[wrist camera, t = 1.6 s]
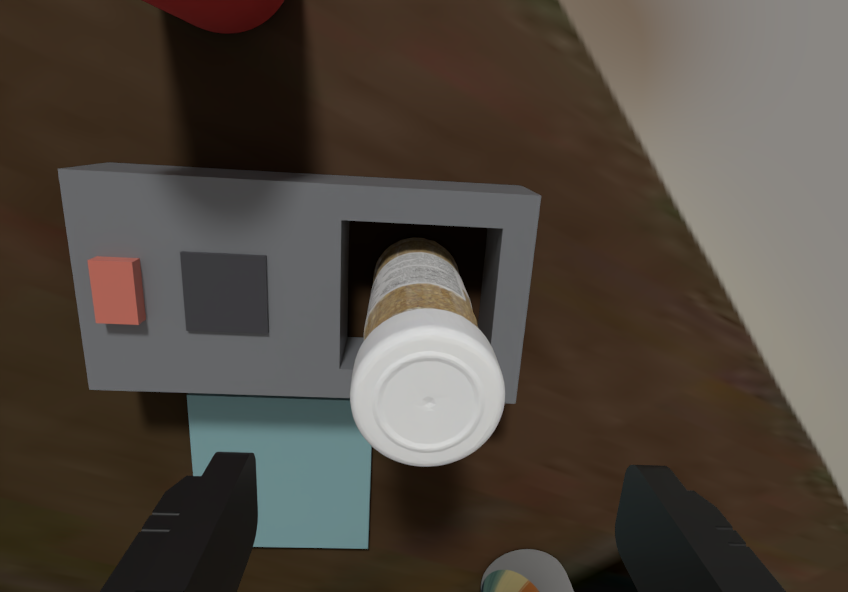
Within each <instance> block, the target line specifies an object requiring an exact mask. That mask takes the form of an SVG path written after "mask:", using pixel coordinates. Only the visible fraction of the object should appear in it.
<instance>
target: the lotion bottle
mask: <svg viewBox="0 0 848 592" xmlns="http://www.w3.org/2000/svg"><path fill="white" fill-rule="evenodd" d="M481 592H574V591H573V588H572V586H571V583H570V581H569V578H568V576H567V574H566V572H565V570H564V568H563V567H562V565H561V564H560V563H559V561H558V560H556V559H555V558H554V557H553V556H551V555H549V554H547V553H545V552H542V551H539V550H533V549H522V550H516V551H512V552H509V553H506V554H504V555H502V556H501V557H499V558H497V559H496V560H495V561H494V562H493V563H492V564H491V565H490V566H489V567H488V568H487V570H486V571H485V573H484V575H483V578H482V582H481Z"/></svg>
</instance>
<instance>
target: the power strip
mask: <svg viewBox="0 0 848 592" xmlns="http://www.w3.org/2000/svg"><path fill="white" fill-rule="evenodd" d="M58 175H59V182H60V189H61V196H62V203H63V210H64V217H65V224H66V231H67V238H68V245H69V252H70V259H71V266H72V273H73V279H74V286H75V293H76V300H77V307H78V314H79V321H80V328H81V335H82V342H83V349H84V356H85V363H86V370H87V377H88V384H89V390H116V391H146V392H177V393H207V394H238V395H268V396H299V397H329V398H350V389H351V380H352V373H353V368H354V363H355V359H356V356H357V353H358V351H359V349H360V347H361V345H362V343H363V342H364V338H362V337H348V279H349V221H367V222H386V223H406V224H425V225H445V226H464V227H483V228H487V236H486V247H485V257H484V268H483V278H482V289H481V299H480V310H479V320H478V328H479V330H481V332H482V333H483V334H484V335H485V336H486V338H487V340H488V341H489V343H490V345H491V346H492V348H493V351H494V353H495V356H496V358H497V361H498V364H499V366H500V369H501V372H502V375H503V379H504V384H505V403H512V404H515V403H516V395H517V387H518V379H519V371H520V363H521V355H522V347H523V339H524V330H525V322H526V314H527V306H528V298H529V290H530V282H531V274H532V266H533V258H534V250H535V242H536V234H537V226H538V217H539V209H540V201H541V195H539V194H537V193H535V192H533V191H531V190H529V189H527V188H525V187H523V186H518V185H500V184H483V183H465V182H447V181H429V180H412V179H394V178H376V177H358V176H341V175H323V174H305V173H287V172H270V171H252V170H234V169H216V168H199V167H181V166H163V165H145V164H128V163H110V162H108V163H100V164H92V165H84V166H76V167H69V168H61V169H58Z"/></svg>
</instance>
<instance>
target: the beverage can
mask: <svg viewBox="0 0 848 592" xmlns="http://www.w3.org/2000/svg"><path fill="white" fill-rule="evenodd" d="M143 1H145V2H147V3H149V4H151V5H153V6H155V7H157V8H159V9H161V10H163V11H165V12H167V13H169V14H172V15H174V16H176V17H178V18H180V19H182V20H184V21H186V22H188V23H190V24H192V25H194V26H196V27H199V28H201V29H204V30H207V31H211V32H215V33H225V34H231V33H240V32H244V31H248V30H251V29H253V28H255V27H257V26H259V25H261V24H263V23H264V22H265V21H267V20H268V19H269V18H270V17H271V16H273V15H274V14H275V12H276V11H277V10H278V9H279V8H280V6H281V5H282V3H283V2H284V0H143Z"/></svg>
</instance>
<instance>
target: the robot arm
mask: <svg viewBox="0 0 848 592" xmlns="http://www.w3.org/2000/svg"><path fill="white" fill-rule="evenodd" d="M257 524H258V501H257V477H256V459H255V455H254V453H247V452H216V453H215V454H214V456H213V457H212V459H211V461H210V462H209V464H208V466H207V467H206V469H205V471H204V473H203V474H202V476H186V477H185V478H183V479H182V480H181V481H179V482H178V483H177V484H175V485H174V486H173V487H171V488H170V489H169V490H168V491H166V492H165V494H164V495H163V497H162V498H161V500H160V501H159V503H158V504H157V506H156V507H155V509H154V510H153V514H152V515H150V516H149V518H148V519H147V521H146V522H145V524H144V526H143V527H142V531H141V532H139V533H138V535H137V536H136V538H135V539H134V541H133V542H132V544H131V545H130V547H129V548H128V550H127V551H126V553H125V554H124V556H123V557H122V559H121V561H120V562H119V564H118V565H117V567H116V568H115V570H114V571H113V573H112V574H111V576H110V577H109V579H108V580H107V582H106V583H105V585H104V586H103V588H102V589H101V591H100V592H237V589H238V587H239V584H240V581H241V578H242V576H243V573H244V570H245V567H246V565H247V562H248V559H249V556H250V553H251V551H252V548H253V545H254V541H255V537H256V531H257ZM615 538H616V544H617V548H618V551H619V554H620V556H621V558H622V560H623V562H624V564H625V566H626V568H627V570H628V572H629V574H630V576H631V578H632V580H633V582H634V584H635V586H636V588H637V590H638V592H786V591H785V590H784V589H783V588H782V586H781V585H780V584H779V583H778V582H777V580H776V579H775V578H774V577H773V575H772V574H771V573H770V572H769V571H768V569H767V568H766V567H765V566H764V565H763V563H762V562H761V561H760V560H759V558H758V557H757V556H756V555H755V554H754V552H753V551H752V550H751V549H750V547H746V543H745V541H744V540H743V539H742V538H741V537H740V535H739V534H738V533H737V532H736V531H733V529H732V526H731V524H730V523H729V522H728V521H727V520H726V518H725V517H724V516H723V515H722V513H721V512H720V511H719V510H718V509H717V507H715V506H714V505H712V504H711V503H710V502H708V501H707V500H706V499H704V498H703V497H701V496H700V495H699V494H697V493H696V492H695V491H687V490H686V489H685V487H684V486H683V485H682V483H681V482H680V481H679V480H678V478H677V477H676V476H675V474H674V473H673V472H672V471H671V470H670V468H668V467H667V466H653V465H630V466H629V467H628V468H627V470H626V473H625V478H624V483H623V488H622V493H621V498H620V503H619V508H618V513H617V518H616V524H615Z"/></svg>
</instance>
